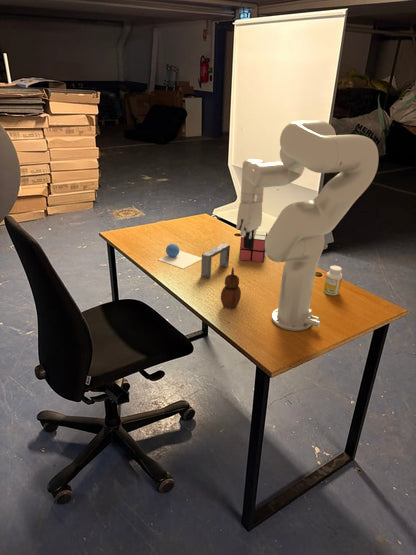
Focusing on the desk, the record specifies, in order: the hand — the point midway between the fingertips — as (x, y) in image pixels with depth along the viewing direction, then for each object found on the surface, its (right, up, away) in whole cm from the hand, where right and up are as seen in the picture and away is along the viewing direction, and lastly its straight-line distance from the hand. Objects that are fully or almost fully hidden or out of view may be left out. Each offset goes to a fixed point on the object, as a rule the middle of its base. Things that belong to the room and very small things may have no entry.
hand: (248, 247), depth 152 cm
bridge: (-12, -8, +13) cm, 19 cm away
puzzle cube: (+4, -2, +28) cm, 28 cm away
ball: (-29, +1, +23) cm, 37 cm away
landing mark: (-26, -3, +22) cm, 34 cm away
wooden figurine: (-7, -20, -10) cm, 24 cm away
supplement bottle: (+30, -16, +2) cm, 34 cm away
